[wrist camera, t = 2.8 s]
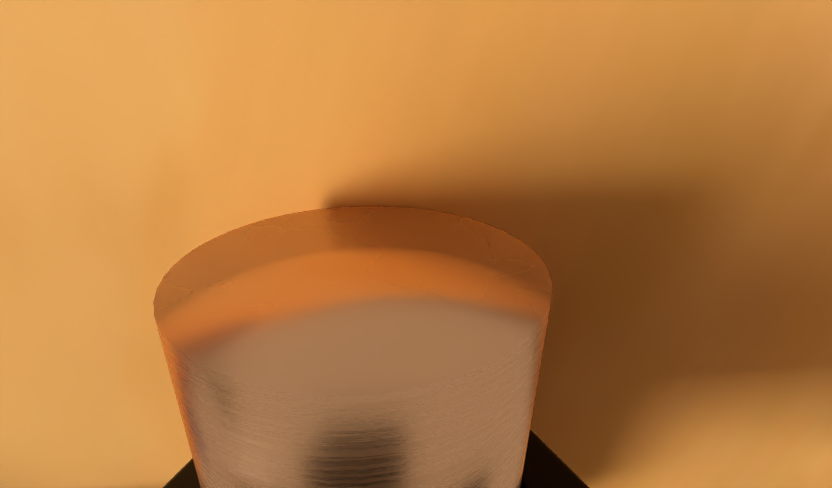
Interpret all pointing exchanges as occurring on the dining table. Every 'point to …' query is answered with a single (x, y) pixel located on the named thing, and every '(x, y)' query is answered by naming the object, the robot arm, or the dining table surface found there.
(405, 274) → the pipe stub
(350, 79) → the dining table surface
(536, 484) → the robot arm
